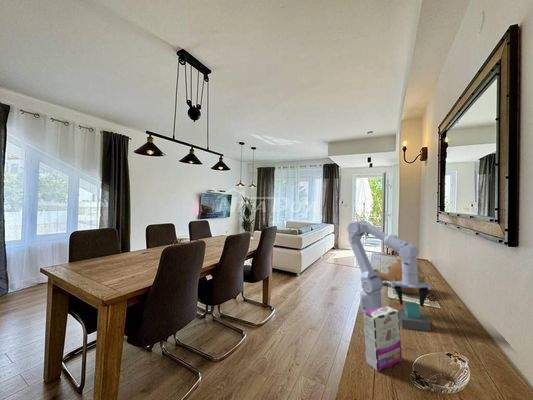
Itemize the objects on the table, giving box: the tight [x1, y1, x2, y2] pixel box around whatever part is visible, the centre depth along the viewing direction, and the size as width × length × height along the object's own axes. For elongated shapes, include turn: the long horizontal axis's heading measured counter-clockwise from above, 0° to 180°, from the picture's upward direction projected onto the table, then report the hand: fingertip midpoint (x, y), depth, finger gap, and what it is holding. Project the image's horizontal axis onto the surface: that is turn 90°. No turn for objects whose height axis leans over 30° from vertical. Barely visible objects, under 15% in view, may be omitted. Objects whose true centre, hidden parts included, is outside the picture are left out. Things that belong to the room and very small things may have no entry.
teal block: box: [403, 300, 421, 319], centre depth 99 cm, size 4×4×5 cm
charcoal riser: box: [396, 309, 431, 332], centre depth 99 cm, size 10×10×4 cm
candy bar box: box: [362, 305, 403, 372], centre depth 75 cm, size 11×5×16 cm, turn 114°
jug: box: [373, 260, 426, 295], centre depth 140 cm, size 20×19×30 cm
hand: (411, 304), depth 99 cm, fingers open, 7 cm apart
